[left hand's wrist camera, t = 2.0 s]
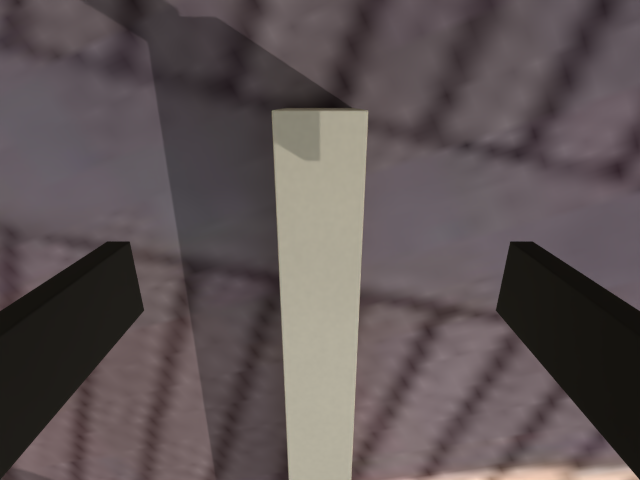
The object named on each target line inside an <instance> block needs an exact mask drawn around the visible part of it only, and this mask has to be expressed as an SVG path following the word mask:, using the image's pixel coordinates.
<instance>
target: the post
mask: <svg viewBox="0 0 640 480" xmlns="http://www.w3.org/2000/svg"><path fill="white" fill-rule="evenodd" d="M367 129H368V110H362V109H355V108H285V109H278V110H272V130H273V152H274V173H275V195H276V216H277V238H278V259H279V281H280V302H281V323H282V345H283V366H284V388H285V409H286V431H287V452H288V474H289V480H351V472H352V451H353V429H354V408H355V386H356V365H357V343H358V322H359V301H360V279H361V258H362V236H363V215H364V193H365V172H366V150H367Z"/></svg>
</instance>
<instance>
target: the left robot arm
mask: <svg viewBox="0 0 640 480" xmlns="http://www.w3.org/2000/svg"><path fill="white" fill-rule="evenodd" d="M143 311H144V308H143V303H142V298H141V293H140V289H139V284H138V279H137V274H136V270H135V265H134V260H133V255H132V250H131V246H130V242H106V243H105V244H103V245H101V246H100V247H98V248H97V249H95V250H94V251H92V252H91V253H89V254H88V255H86V256H85V257H83V258H81V259H80V260H78V261H77V262H75V263H74V264H72V265H71V266H69V267H68V268H66V269H65V270H63V271H61V272H60V273H58V274H57V275H55V276H54V277H52V278H51V279H49V280H48V281H46V282H45V283H43V284H41V285H40V286H38V287H37V288H35V289H34V290H32V291H31V292H29V293H28V294H26V295H25V296H23V297H21V298H20V299H18V300H17V301H15V302H14V303H12V304H11V305H9V306H8V307H6V308H5V309H3V310H1V311H0V479H1V478H2V477H3V476H4V475H5V473H6V472H7V471H8V470H9V469H10V468H11V466H12V465H13V464H14V463H15V462H16V460H17V459H18V458H19V457H20V456H21V455H22V453H23V452H24V451H25V450H26V449H27V448H28V446H29V445H30V444H31V443H32V442H33V440H34V439H35V438H36V437H37V436H38V435H39V433H40V432H41V431H42V430H43V429H44V428H45V426H46V425H47V424H48V423H49V422H50V420H51V419H52V418H53V417H54V416H55V415H56V413H57V412H58V411H59V410H60V409H61V408H62V406H63V405H64V404H65V403H66V402H67V400H68V399H69V398H70V397H71V396H72V395H73V393H74V392H75V391H76V390H77V389H78V388H79V386H80V385H81V384H82V383H83V382H84V380H85V379H86V378H87V377H88V376H89V375H90V373H91V372H92V371H93V370H94V369H95V368H96V366H97V365H98V364H99V363H100V362H101V360H102V359H103V358H104V357H105V356H106V355H107V353H108V352H109V351H110V350H111V349H112V348H113V346H114V345H115V344H116V343H117V342H118V340H119V339H120V338H121V337H122V336H123V335H124V333H125V332H126V331H127V330H128V329H129V328H130V326H131V325H132V324H133V323H134V322H135V320H136V319H137V318H138V317H139V316H140V315H141V313H142V312H143ZM496 311H497V312H498V313H499V315H500V316H501V317H502V318H503V319H504V320H505V322H506V323H507V324H508V325H509V326H510V328H511V329H512V330H513V331H514V332H515V333H516V335H517V336H518V337H519V338H520V339H521V340H522V342H523V343H524V344H525V345H526V346H527V348H528V349H529V350H530V351H531V352H532V353H533V355H534V356H535V357H536V358H537V359H538V360H539V362H540V363H541V364H542V365H543V366H544V368H545V369H546V370H547V371H548V372H549V373H550V375H551V376H552V377H553V378H554V379H555V380H556V382H557V383H558V384H559V385H560V386H561V388H562V389H563V390H564V391H565V392H566V393H567V395H568V396H569V397H570V398H571V399H572V400H573V402H574V403H575V404H576V405H577V406H578V408H579V409H580V410H581V411H582V412H583V413H584V415H585V416H586V417H587V418H588V419H589V420H590V422H591V423H592V424H593V425H594V426H595V428H596V429H597V430H598V431H599V432H600V433H601V435H602V436H603V437H604V438H605V439H606V440H607V442H608V443H609V444H610V445H611V446H612V448H613V449H614V450H615V451H616V452H617V453H618V455H619V456H620V457H621V458H622V459H623V460H624V462H625V463H626V464H627V465H628V466H629V468H630V469H631V470H632V471H633V472H634V473H635V475H636V476H637V477H638V478H639V479H640V311H639V310H637V309H635V308H634V307H632V306H631V305H629V304H628V303H626V302H625V301H623V300H622V299H620V298H619V297H617V296H615V295H614V294H612V293H611V292H609V291H608V290H606V289H605V288H603V287H602V286H600V285H599V284H597V283H595V282H594V281H592V280H591V279H589V278H588V277H586V276H585V275H583V274H582V273H580V272H579V271H577V270H575V269H574V268H572V267H571V266H569V265H568V264H566V263H565V262H563V261H562V260H560V259H559V258H557V257H555V256H554V255H552V254H551V253H549V252H548V251H546V250H545V249H543V248H542V247H540V246H539V245H537V244H535V243H534V242H510V246H509V250H508V255H507V260H506V265H505V270H504V274H503V279H502V284H501V289H500V293H499V298H498V303H497V308H496Z"/></svg>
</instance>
